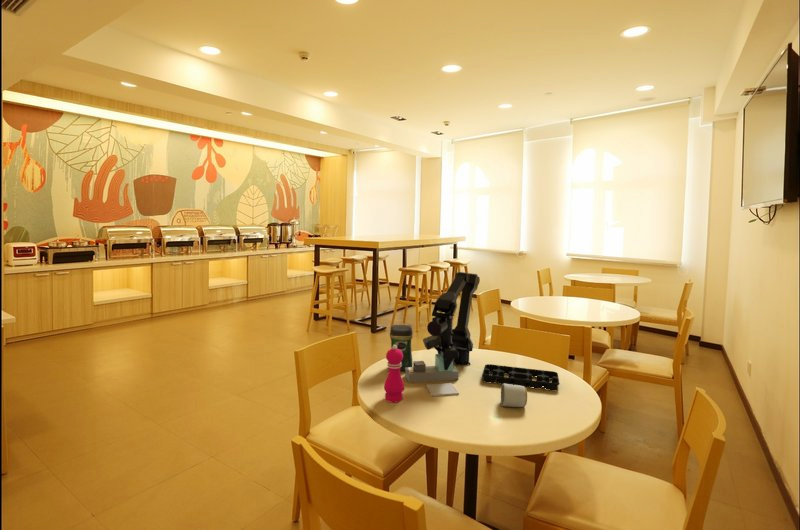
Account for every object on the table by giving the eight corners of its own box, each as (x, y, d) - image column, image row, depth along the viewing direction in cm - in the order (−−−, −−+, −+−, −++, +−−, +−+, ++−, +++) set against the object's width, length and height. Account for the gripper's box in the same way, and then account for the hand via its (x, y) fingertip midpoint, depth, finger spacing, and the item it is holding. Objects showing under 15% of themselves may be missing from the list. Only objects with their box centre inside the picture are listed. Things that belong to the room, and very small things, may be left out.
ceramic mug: (527, 411, 156) (528, 389, 155) (503, 410, 156) (504, 388, 155) (520, 397, 166) (522, 377, 165) (498, 397, 167) (499, 376, 166)
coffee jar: (412, 364, 196) (413, 322, 193) (412, 372, 188) (413, 328, 185) (390, 364, 196) (390, 322, 193) (388, 371, 188) (389, 327, 186)
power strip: (452, 372, 188) (453, 357, 187) (458, 379, 181) (458, 364, 180) (404, 375, 184) (405, 360, 183) (408, 382, 177) (408, 366, 176)
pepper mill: (389, 404, 159) (390, 349, 155) (380, 396, 165) (380, 343, 162) (407, 400, 162) (408, 346, 159) (398, 392, 168) (399, 340, 165)
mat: (451, 384, 176) (451, 383, 176) (458, 394, 167) (458, 393, 167) (426, 386, 174) (426, 384, 174) (432, 396, 166) (432, 394, 165)
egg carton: (479, 371, 191) (479, 363, 190) (552, 374, 189) (553, 366, 188) (484, 389, 173) (484, 380, 173) (565, 392, 171) (565, 383, 171)
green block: (448, 369, 186) (448, 353, 185) (452, 375, 181) (453, 358, 180) (434, 370, 185) (435, 354, 184) (438, 376, 180) (439, 359, 179)
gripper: (419, 323, 188) (418, 359, 190) (431, 337, 170) (430, 377, 172) (445, 322, 190) (444, 358, 192) (460, 336, 172) (458, 375, 174)
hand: (443, 367), depth 183 cm, fingers closed on green block, 6 cm apart
